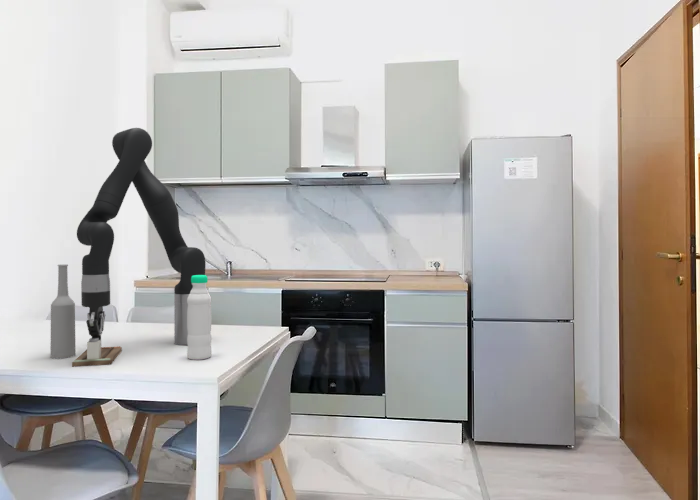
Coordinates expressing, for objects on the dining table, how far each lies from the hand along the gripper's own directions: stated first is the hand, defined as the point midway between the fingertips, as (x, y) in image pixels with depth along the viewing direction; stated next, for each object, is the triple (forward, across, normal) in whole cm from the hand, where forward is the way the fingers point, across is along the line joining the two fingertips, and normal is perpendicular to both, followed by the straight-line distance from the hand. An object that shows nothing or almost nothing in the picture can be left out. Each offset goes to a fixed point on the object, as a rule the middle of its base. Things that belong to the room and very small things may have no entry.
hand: (96, 348), depth 143 cm
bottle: (+4, +8, +11) cm, 14 cm away
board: (+4, +2, 0) cm, 4 cm away
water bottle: (+4, -5, -29) cm, 30 cm away
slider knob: (+2, -4, 0) cm, 4 cm away
